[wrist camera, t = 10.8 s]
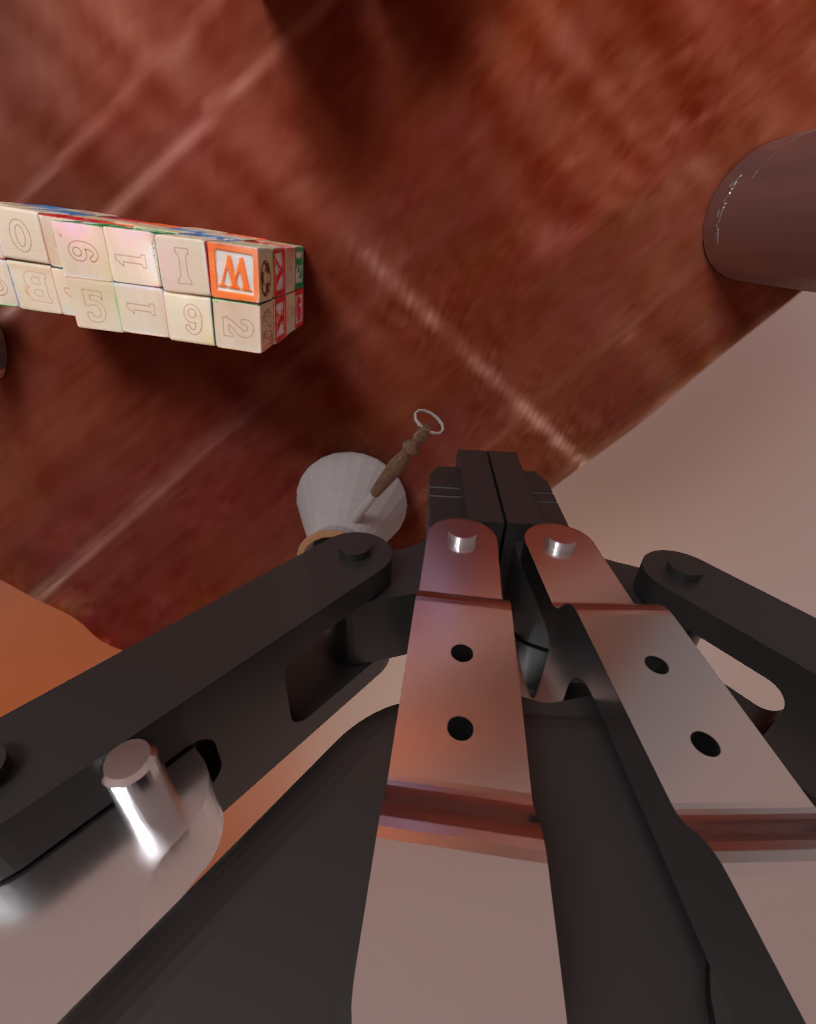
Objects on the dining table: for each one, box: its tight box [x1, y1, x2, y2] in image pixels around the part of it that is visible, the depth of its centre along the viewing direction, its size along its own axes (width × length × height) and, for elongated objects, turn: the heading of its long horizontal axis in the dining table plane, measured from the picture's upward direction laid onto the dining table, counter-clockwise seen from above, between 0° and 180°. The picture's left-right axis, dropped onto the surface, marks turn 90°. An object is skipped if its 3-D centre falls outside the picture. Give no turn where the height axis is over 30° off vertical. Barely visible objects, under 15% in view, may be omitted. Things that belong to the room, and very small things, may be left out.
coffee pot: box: [297, 409, 444, 556], centre depth 40 cm, size 21×12×15 cm, turn 149°
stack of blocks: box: [0, 202, 304, 353], centre depth 33 cm, size 21×6×12 cm, turn 82°
